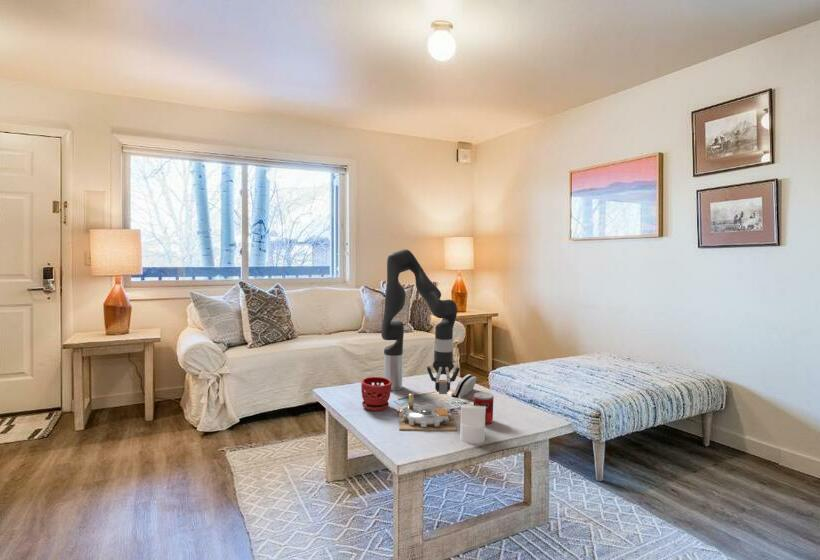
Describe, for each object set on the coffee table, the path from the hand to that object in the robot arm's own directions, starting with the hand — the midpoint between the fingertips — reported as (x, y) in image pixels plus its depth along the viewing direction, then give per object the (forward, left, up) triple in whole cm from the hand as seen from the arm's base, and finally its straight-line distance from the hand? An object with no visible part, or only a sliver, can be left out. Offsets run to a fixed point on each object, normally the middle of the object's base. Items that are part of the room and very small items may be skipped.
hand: (442, 390), depth 191 cm
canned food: (+1, +17, -12) cm, 21 cm away
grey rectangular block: (0, 0, 0) cm, 0 cm away
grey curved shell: (-35, +14, -12) cm, 40 cm away
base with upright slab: (+18, +10, -12) cm, 24 cm away
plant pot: (-14, -27, -12) cm, 33 cm away
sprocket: (0, -6, -12) cm, 14 cm away
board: (0, -6, -12) cm, 14 cm away
